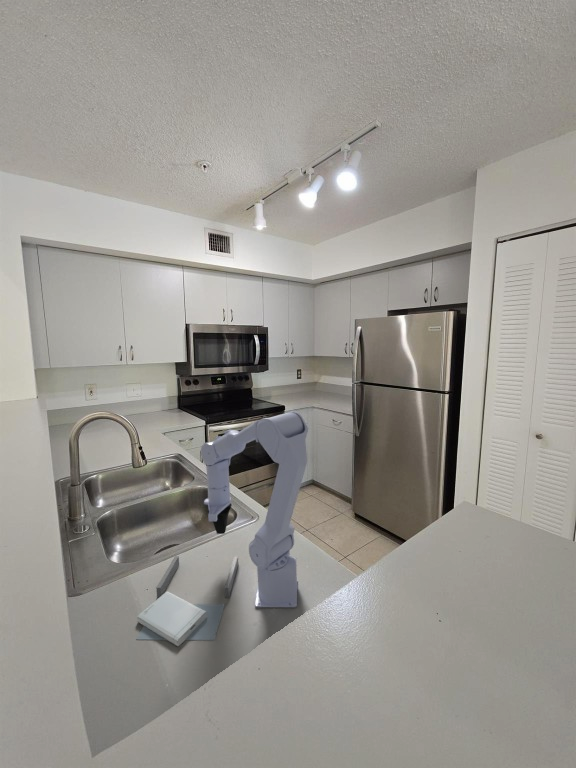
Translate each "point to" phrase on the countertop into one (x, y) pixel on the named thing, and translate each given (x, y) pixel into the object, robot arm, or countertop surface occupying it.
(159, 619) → the hard drive
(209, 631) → the mat
